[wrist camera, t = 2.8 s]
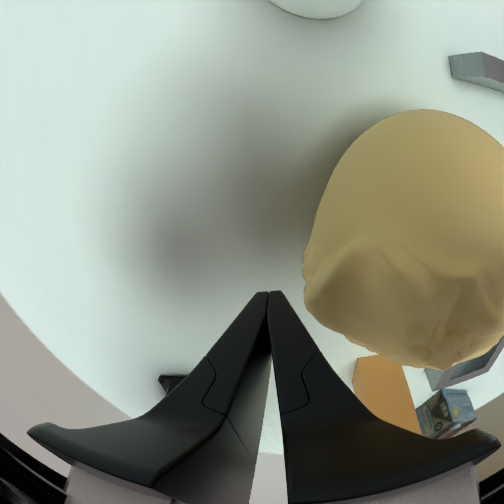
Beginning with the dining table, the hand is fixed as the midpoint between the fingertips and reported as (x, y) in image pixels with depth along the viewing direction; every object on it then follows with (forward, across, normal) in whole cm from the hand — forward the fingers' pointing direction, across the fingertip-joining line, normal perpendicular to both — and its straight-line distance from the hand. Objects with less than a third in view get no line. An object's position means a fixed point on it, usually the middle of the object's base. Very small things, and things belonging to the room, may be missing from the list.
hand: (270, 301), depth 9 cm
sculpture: (+8, -8, 0) cm, 11 cm away
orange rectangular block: (+8, -8, +17) cm, 20 cm away
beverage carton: (+8, -18, +35) cm, 41 cm away
